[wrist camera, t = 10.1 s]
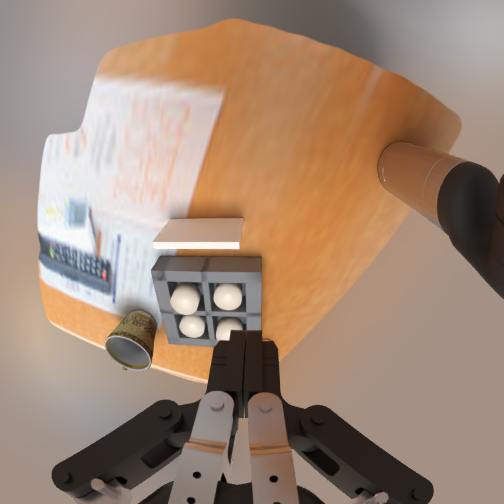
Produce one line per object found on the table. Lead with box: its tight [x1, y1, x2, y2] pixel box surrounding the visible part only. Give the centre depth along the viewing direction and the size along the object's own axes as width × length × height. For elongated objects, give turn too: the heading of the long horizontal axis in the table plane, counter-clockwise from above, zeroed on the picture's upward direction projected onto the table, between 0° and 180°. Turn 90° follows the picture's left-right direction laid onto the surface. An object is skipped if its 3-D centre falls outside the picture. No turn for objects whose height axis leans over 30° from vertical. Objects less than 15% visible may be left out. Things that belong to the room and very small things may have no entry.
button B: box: [216, 316, 243, 341], centre depth 48 cm, size 5×5×3 cm
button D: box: [179, 315, 206, 338], centre depth 49 cm, size 5×5×3 cm
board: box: [151, 256, 262, 347], centre depth 49 cm, size 18×17×5 cm
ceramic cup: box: [105, 310, 157, 371], centre depth 51 cm, size 13×10×10 cm
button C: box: [170, 282, 201, 315], centre depth 45 cm, size 5×5×3 cm
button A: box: [214, 283, 243, 310], centre depth 46 cm, size 5×5×3 cm
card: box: [152, 218, 243, 249], centre depth 40 cm, size 12×1×9 cm, turn 90°
